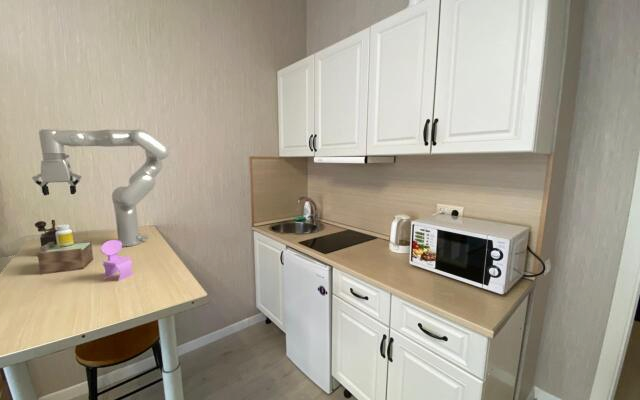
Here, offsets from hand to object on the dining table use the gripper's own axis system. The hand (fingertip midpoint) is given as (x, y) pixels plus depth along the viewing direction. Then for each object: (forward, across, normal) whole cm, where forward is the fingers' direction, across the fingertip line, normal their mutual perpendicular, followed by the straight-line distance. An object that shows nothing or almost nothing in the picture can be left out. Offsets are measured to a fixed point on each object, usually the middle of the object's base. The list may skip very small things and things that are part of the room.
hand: (60, 194), depth 128 cm
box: (+30, -5, +15) cm, 34 cm away
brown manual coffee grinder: (+31, +8, -8) cm, 33 cm away
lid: (+22, -5, +15) cm, 27 cm away
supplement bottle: (+22, -5, +15) cm, 27 cm away
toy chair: (+31, -28, +35) cm, 54 cm away
